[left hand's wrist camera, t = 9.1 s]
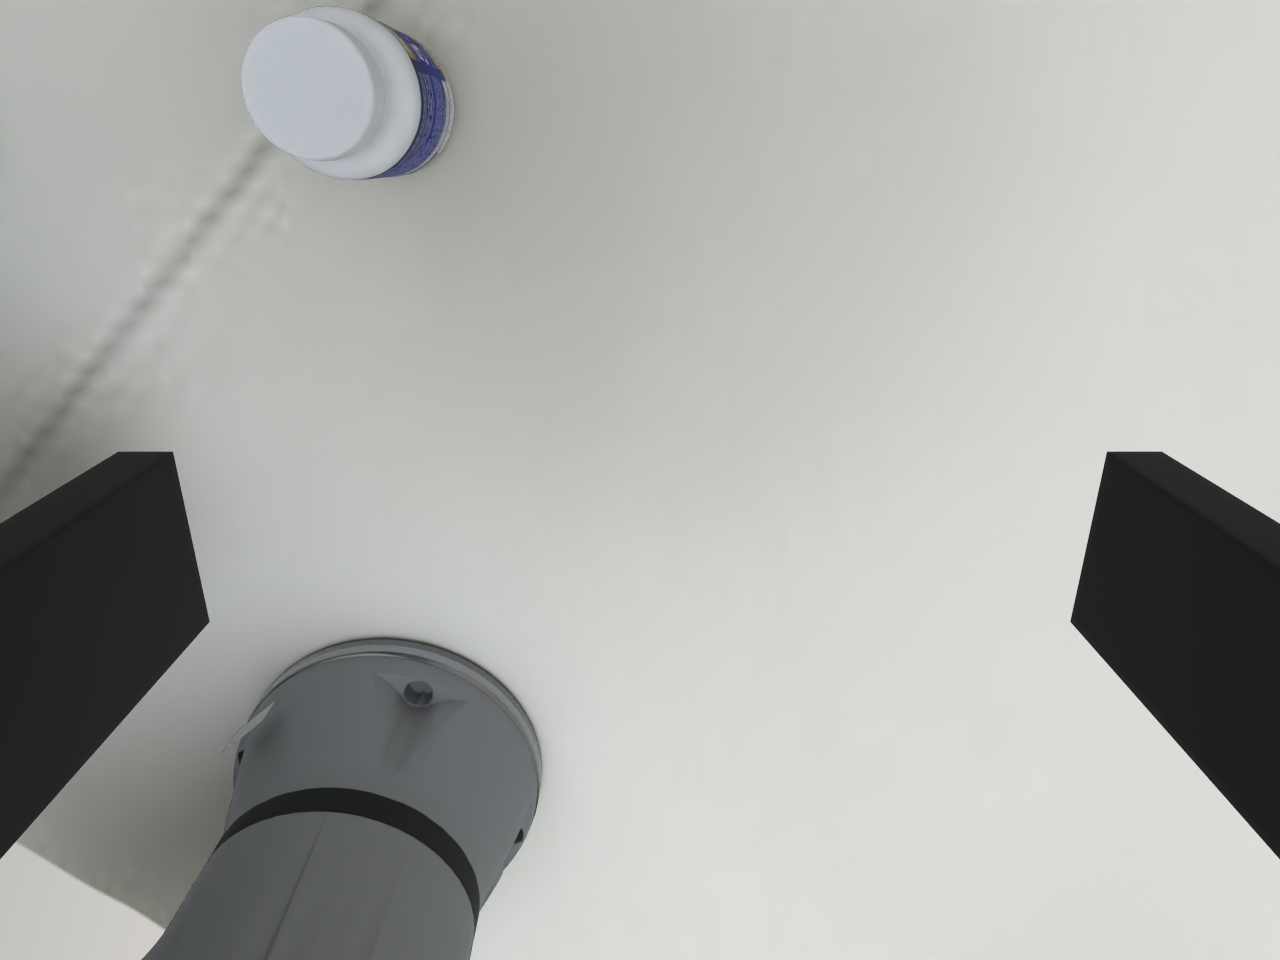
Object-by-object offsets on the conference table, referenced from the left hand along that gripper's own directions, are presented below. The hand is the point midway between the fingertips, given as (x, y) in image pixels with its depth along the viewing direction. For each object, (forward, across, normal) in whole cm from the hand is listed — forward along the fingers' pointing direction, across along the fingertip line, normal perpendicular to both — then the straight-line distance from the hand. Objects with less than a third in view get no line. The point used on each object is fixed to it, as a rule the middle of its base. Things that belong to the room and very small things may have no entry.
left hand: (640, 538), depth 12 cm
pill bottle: (+26, -10, +6) cm, 28 cm away
